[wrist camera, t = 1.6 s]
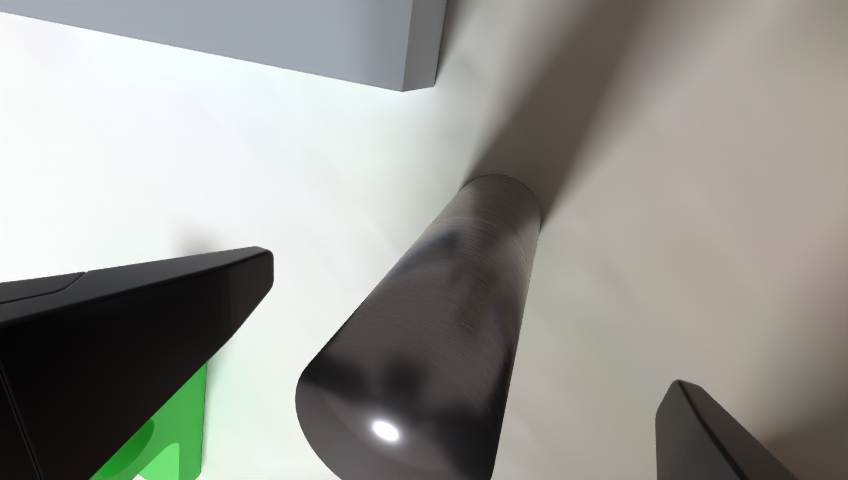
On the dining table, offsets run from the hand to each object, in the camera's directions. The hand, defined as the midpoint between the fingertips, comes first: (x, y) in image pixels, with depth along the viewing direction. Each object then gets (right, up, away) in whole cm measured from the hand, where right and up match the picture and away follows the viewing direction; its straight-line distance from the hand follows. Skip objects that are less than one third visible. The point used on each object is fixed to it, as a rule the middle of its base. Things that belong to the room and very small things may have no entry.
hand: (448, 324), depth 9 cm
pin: (+2, +3, +6) cm, 7 cm away
